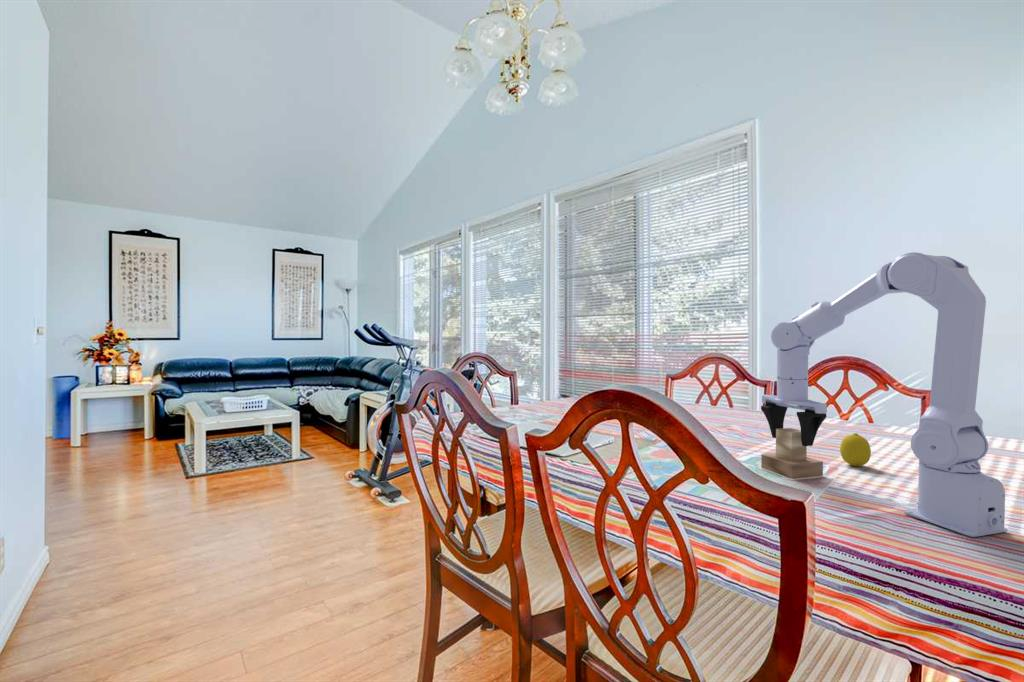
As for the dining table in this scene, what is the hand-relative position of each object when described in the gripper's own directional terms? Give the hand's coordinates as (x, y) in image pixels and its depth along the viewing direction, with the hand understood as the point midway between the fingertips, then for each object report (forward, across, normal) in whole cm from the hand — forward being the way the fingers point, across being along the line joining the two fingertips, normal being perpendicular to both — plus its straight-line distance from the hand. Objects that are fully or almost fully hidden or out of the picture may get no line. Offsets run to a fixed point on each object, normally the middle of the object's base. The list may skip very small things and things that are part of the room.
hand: (791, 441), depth 97 cm
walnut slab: (+7, 0, 0) cm, 7 cm away
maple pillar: (+4, 0, 0) cm, 4 cm away
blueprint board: (+7, +1, +1) cm, 7 cm away
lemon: (+7, 0, +18) cm, 19 cm away
